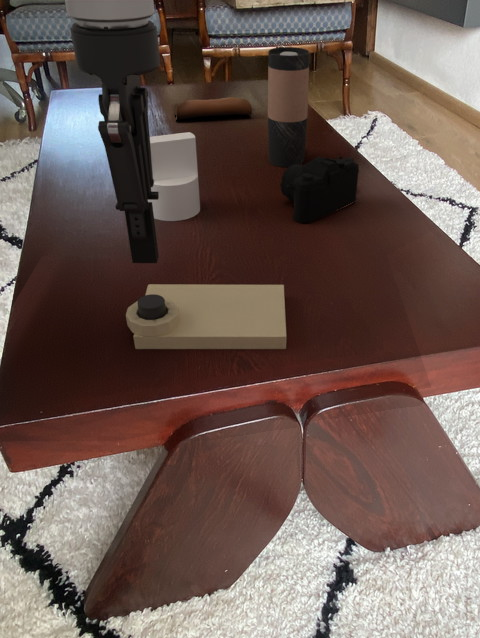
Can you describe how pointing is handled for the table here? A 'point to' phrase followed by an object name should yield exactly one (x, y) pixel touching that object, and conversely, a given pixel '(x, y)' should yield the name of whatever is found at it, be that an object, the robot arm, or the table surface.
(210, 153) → the table surface
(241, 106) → the sunglasses case
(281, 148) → the travel mug
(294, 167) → the film camera
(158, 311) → the button
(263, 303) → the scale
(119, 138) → the robot arm
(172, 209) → the base with upright slab
